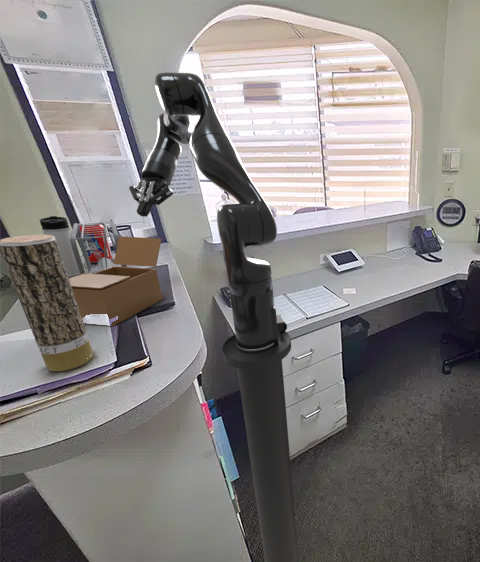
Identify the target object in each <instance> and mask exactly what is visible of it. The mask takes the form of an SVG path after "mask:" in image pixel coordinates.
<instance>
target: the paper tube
mask: <svg viewBox="0 0 480 562" xmlns="http://www.w3.org/2000/svg"><path fill="white" fill-rule="evenodd" d="M0 255H1V257H2V260H3V263H4V266H5V268H6V270H7V273H8V275H9V278H10V280H11V282H12V286H13V288H14V290H15V292H16V295H17V297H18V301H19V303H20V305H21V307H22V309H23V313H24V315H25V317H26V320H27V322H28V325H29V328H30V330H31V332H32V335H33V337H34V341H35V342H36V344H37V347H38V350H39V352H40V354H41V357H42V359H43V362H44V364H45V367H46V368H47V370H49V371H52V372H66V371H69V370H73V369H75V368H79V367H81V366H83V365H86V364H87V363H88V362H90V361H91V360H92V358H93V357H94V351H93V348H92V345H91V342H90V338H89V335H88V332H87V329H86V327H85V325H84V323H83V320H82V317H81V314H80V311H79V308H78V305H77V302H76V299H75V296H74V293H73V290H72V287H71V284H70V281H69V278H68V275H67V272H66V269H65V266H64V263H63V260H62V257H61V254H60V251H59V248H58V245H57V242H56V239H55V238H54V235H44V234H27V235H18V236H10V237H5V238H1V239H0ZM92 352H93V354H92ZM91 354H92V355H91ZM90 355H91V357H90ZM87 358H88V359H87Z"/></svg>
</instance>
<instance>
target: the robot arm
mask: <svg viewBox="0 0 480 562" xmlns="http://www.w3.org/2000/svg"><path fill="white" fill-rule="evenodd" d="M154 89H155V93H156V96H157V99H158V103H159V106H160V109H161V112H162V113H161V114H159V115H158V116H157V120H156V139H155V143H154V145H153V147H152V150H151V152H150V153H149V155H148V157H147V159H146V161H145V163H144V166H143V168H142V171H141V174H140V175H141V180H139V182H138V184H137V185H135V186H133V185H130V186H129V187H128V189H129V191H130V194H131V196H132V198H133V200H134V201H136V202H137V203H138V206H137V209H136V214H137V215H139V216H140V217H145V218H146V217H148V215H150V212H151V211H152V209H153V207H154V206H155V205H157V206H160V205H162V203H164V202H165V201H166V200H168V199H169V198H170V197H171V196H173V195H174V194H175V193H174V191H173V190H172V189H171V188H170V186H171V184H172V181H173V178H174V175H175V174H176V171H177V166H178V162H179V159H180V157H181V154H182V150H183V149H182V146H181V145H180V144H183V145H189V149H190V153H191V155H192V157H193V159H194V161H195V163H196V165H197V168H198V170H199V172H201V174H202V175H203V176H204V177H205V179H207V180H208V181H210V182H211V183H213V184H214V185H215V186H217V187H218V188H219V189H221V190H223V191H224V192H226V193H227V194H228V195H229V196H231V197H232V198H233V199H235V201H236V202H238V203H228V204H226V203H225V204H222V205H220V206H219V207H218V210H217V211H216V212H217V213H216V225H217V230H218V234H219V239H220V245H221V250H222V256H223V262H224V267H225V271H226V277H227V283H228V289H229V290H228V291H229V297H230V305H231V312H232V320H233V326H234V332H235V334H236V345H237V348H238V350H240V351H242V352H245V353H258V352H263V351H266V350H268V349H270V348H272V347H273V346H277V345H279V340H278V331H281V332H280V334H283V333H284V332H285V331H286V332H287V329H288V324H287V323H286V321H284V320H283V317H282V314H277V309H276V306H275V297H274V288H273V287H274V286H273V276H272V274H273V273H272V267H271V264H270V263H269V262H268V261H267V260H264V259H261V258H254V257H250V256H247V255H246V254H245V250H244V249H247V248H254V247H261V246H267V245H270V244H272V243H273V242H274V241H275V240H276V238H277V235H278V230H277V229H278V228H277V223H276V219H275V217H274V214H273V212H272V210H271V209H270V207H269V206H268V204H267V202H266V200H265V199H264V197H263V196H262V194H261V193H260V191H259V189H258V188H257V187H256V186H255V184H254V182H253V181H252V179H251V177H250V175H249V174H248V172H247V170H246V168H245V166H244V164H243V162H242V160H241V158H240V155H239V153H238V152H237V149H236V148H235V145H234V144H233V142H232V140H231V139H230V137H229V134H228V133H227V131H226V130H225V128H224V126H223V124H222V122H221V120H220V118H219V115H218V113H217V111H216V108H215V106H214V103H213V101H212V98H211V96H210V93H209V91H208V89H207V87H206V85H205V83H204V81H203V79H201V77H200V76H199V75H198V74H196V73H191V72H170V71H169V72H159V73H157V74H156V75H155V77H154ZM192 116H193V117H195V116H198V117H199V119H198V121H197V123H196V124H195V126H194V125H193V123H192ZM235 334H234V335H235Z"/></svg>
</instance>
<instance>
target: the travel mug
mask: <svg viewBox="0 0 480 562" xmlns="http://www.w3.org/2000/svg"><path fill="white" fill-rule="evenodd" d="M39 223H40V226H41V230H42V233H43V235H54V238H55V239H56V242H57V245H58V248H59V251H60V254H61V257H62V260H63V263H64V266H65V269H66V272H67V275H68V278H72V277H75V276H78V275H80V272H79V269H78V266H77V263H76V260H75V256H74V253H73V250H72V247H71V243H70V236H71V232H72V230H71V228H70V225H69V223H68V219H67V218H66V217H64V216H57V215H52V216H51V215H49V216H48V217H43V218H41V219H39Z"/></svg>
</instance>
